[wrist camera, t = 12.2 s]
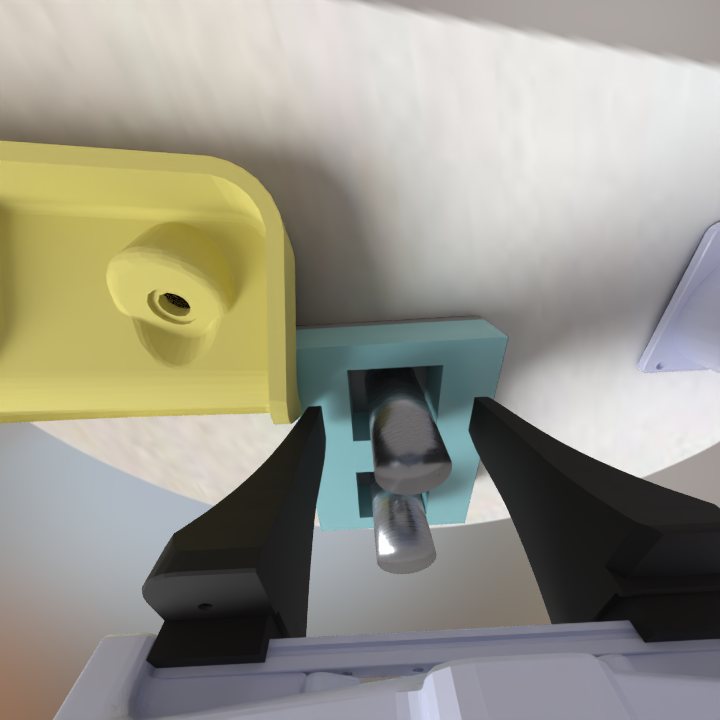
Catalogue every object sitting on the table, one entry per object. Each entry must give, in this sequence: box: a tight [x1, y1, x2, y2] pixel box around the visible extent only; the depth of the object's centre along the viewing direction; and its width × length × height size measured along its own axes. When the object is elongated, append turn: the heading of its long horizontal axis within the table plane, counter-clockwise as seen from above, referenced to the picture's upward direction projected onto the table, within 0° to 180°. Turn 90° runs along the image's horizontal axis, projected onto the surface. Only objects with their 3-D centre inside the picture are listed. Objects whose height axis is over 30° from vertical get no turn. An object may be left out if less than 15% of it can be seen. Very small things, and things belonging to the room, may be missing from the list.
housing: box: [296, 316, 508, 531], centre depth 16 cm, size 10×14×3 cm
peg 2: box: [369, 472, 436, 574], centre depth 16 cm, size 3×3×6 cm
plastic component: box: [0, 141, 302, 424], centre depth 11 cm, size 20×7×10 cm
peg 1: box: [365, 367, 452, 495], centre depth 13 cm, size 3×3×6 cm
